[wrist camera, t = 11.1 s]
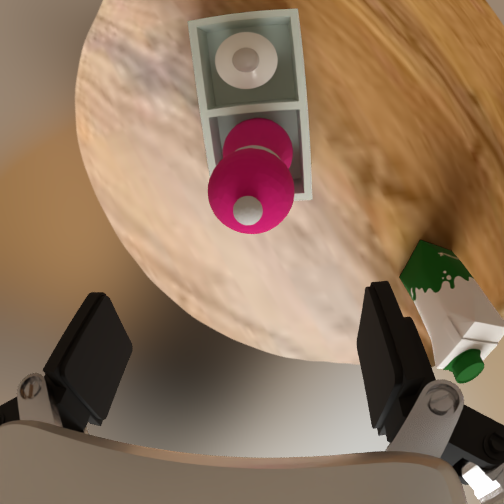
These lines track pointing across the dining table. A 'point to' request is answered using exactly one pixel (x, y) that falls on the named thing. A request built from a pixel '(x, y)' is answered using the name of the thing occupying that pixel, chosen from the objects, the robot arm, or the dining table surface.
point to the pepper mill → (253, 177)
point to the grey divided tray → (255, 99)
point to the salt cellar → (246, 60)
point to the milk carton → (452, 310)
